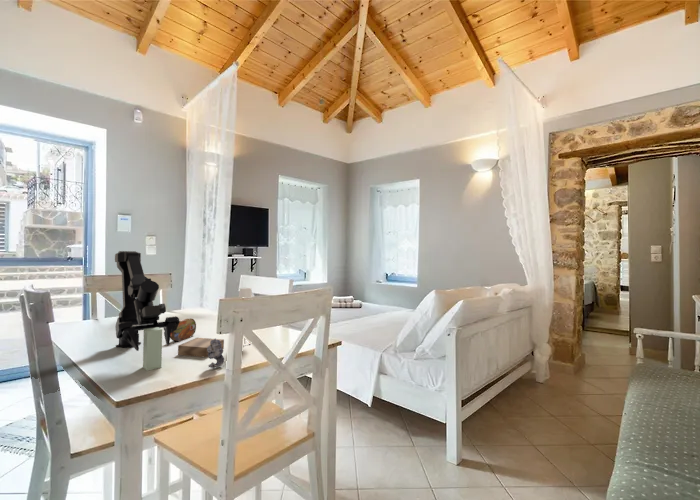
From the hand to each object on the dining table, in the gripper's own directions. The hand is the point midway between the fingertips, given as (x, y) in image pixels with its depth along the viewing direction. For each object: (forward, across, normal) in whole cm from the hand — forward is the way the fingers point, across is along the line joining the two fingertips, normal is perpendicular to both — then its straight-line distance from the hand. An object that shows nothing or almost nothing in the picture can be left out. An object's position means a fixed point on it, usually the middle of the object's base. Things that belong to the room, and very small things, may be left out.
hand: (153, 347), depth 116 cm
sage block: (+4, 0, +6) cm, 7 cm away
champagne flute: (0, +37, +11) cm, 39 cm away
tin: (-18, +20, +28) cm, 39 cm away
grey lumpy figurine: (+14, +16, -4) cm, 22 cm away
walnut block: (-1, +19, +11) cm, 22 cm away
